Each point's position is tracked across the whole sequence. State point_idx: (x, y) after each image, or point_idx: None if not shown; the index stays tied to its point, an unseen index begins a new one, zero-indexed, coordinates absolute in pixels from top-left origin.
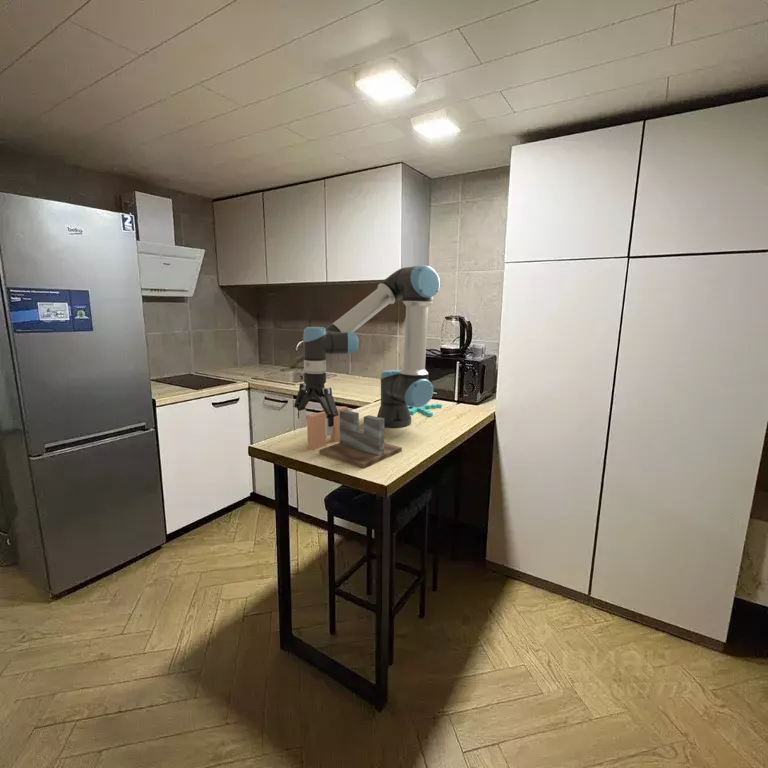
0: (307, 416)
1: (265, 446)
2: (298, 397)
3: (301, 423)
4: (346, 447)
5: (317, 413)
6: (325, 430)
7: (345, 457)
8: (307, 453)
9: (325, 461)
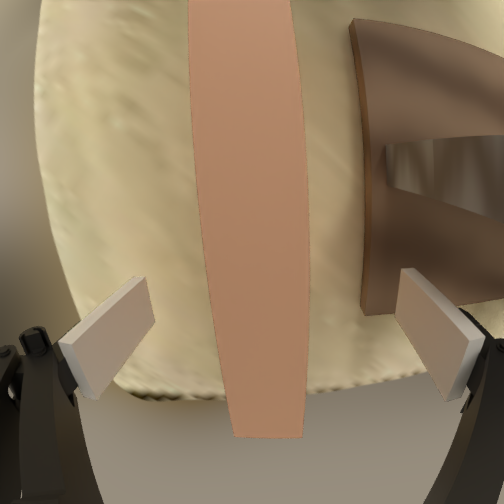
0: (243, 432)
1: (129, 370)
2: (16, 471)
3: (139, 331)
4: (444, 207)
5: (240, 348)
6: (408, 336)
7: (491, 298)
8: (311, 335)
9: None
